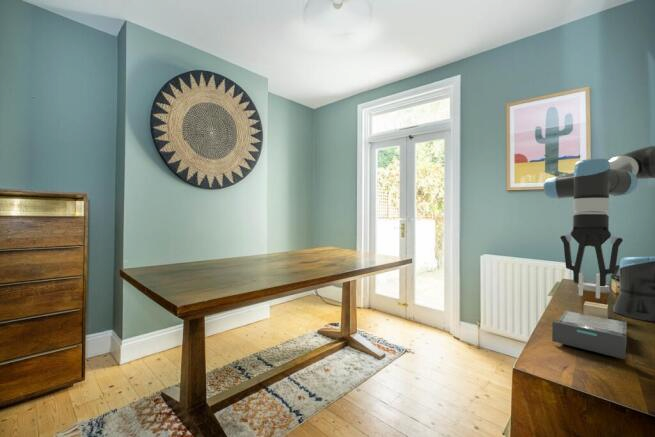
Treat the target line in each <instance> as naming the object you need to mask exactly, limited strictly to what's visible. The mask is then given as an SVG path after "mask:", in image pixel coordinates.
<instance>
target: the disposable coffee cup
mask: <svg viewBox="0 0 655 437" xmlns="http://www.w3.org/2000/svg"><path fill="white" fill-rule="evenodd" d="M577 288H578V289H579V284H578V285H577ZM611 291H612V289H611V288H610V286H609V285H607V284H606V285H605V287H604V286H600V299H599V298H596V282H591V281H583V295H582V296H580V295H579V297H580V304H581V310H582V311H581V312H582V314H584V303H585V301H586V302H592V303H598V304H605V305H608V301H609V296H610V295H609V294H610V293H611Z"/></svg>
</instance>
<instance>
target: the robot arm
mask: <svg viewBox="0 0 655 437" xmlns="http://www.w3.org/2000/svg"><path fill="white" fill-rule="evenodd" d="M644 179H645V180H647V179H648V180H649V179H655V145H651V146H646V147H642V148H638V149H635V150H632V151H629V152H626V153H623V154H620V155H618V156H614V157H612V158H610V160H609V159H607V158H604V157H603V158H602V157H601V158H599V157H598V158H587V159H582V160H579V161H577V162H576V163H574V169H573V172H572V173H569V174H564V175H559V176H558V175H556V176H553V177H549V178H547V179H545V181H544V183H543V192H544V195H545V196H546V197H547V198H548V199H559V200H560V199H567V198H573V204H572V206H573V211H572V212H573V213H575V214H574V215H573V217H572V220H573V221H572V230H571V231H570V233H568V234H565V235H561V236H560V240H561V241H562V243H563V251H564V261H565V268H566V269H567V270H570V271H573V282H574V283H575V284H578V285H579V288H578V296H579V297H580V296H582V295H583V282H584V271H581V269H582V267H581V266H582V264H583V263H582V262H583V259H584V254H585V248H586V247H593V248H594V250H595V254H596V259H597V266H598V272H599V273H596V274H595V283H596V298H599V299H600V286H604V287H605V285H607V275H610V274H612V275H613V274H615V273H616V267H617V260H618V254H619V248H620V245H621V244H622V242H623V240H624V239H623V238H622V237H617V236H615V235H612V234H611V231H610V228H609V224H610V223H609V222H610V219H609V218H610V215H608V214H607V213H609V211H610V210H609V208H610V207H609V206H610V198H609V197H610V196H614V197H617V196H625V195H628V194H631V193H633V192H634V191H635V189H636V188H637V187H638V184H639V180H644ZM572 239H574V240H575V242H576V243H578V248H577V253H576V256H575V257H576V258H575V261H574V265H573V260H572V252H571V243H570V242H571V241H572ZM608 240H610V244H612V247H611V252H610V258H609V259H610V260H609V265H608V266H609V267H608V268H607V269H606V264H605V259H604V254H603V253H604V252H603V248H602V247H603V246H602V245H603V244H605V243H606V242H607V241H608ZM619 262H620V263H619V294H618V296H617V298H616V300H615V303H614V304H613V309H612V310H613V313H615V312H616V313H615V314H617V313H618V314H617V315H620V314H621V315H620V316H623V315H624V316H623V317H626V318H631V319H636V320H640V321H641V320H642V321H646V320H647V321H648V322H654V321H655V256H626V257H624V256H623V257H622V258H621V259H620V261H619Z"/></svg>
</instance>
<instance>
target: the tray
mask: <svg viewBox="0 0 655 437" xmlns="http://www.w3.org/2000/svg"><path fill="white" fill-rule="evenodd" d="M551 332H552V336H551V337H552V338H551V339H552V340H551V341H552V342H554V343H558V344H562V345H567V346H571V347H574V348H578V349H582V350H587V351H590V352H594V353H597V354H602V355H606V356H609V357H613V358H618V359H621V360H626V359H627V358H626V357H627V356H626V355H627V354H626V353H627V335H626V336H622V335H617V334H612V333H607V332H602V331H598V330H593V329H588V328H583V327H579V326H574V325H569V324H564V323H560V322H559V321H554V320H552V331H551Z"/></svg>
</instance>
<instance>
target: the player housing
mask: <svg viewBox="0 0 655 437" xmlns="http://www.w3.org/2000/svg"><path fill="white" fill-rule="evenodd" d="M558 322H560V323H564V324H569V325H574V326H579V327H583V328H588V329H593V330H598V331H602V332H607V333H612V334H617V335H622V336H626V337H627V321H624V320H619V319H613V318H609V317H608V318H603V317H598V316H592V315H587V314H583V313H580V312H574V311H570V310H564V312H563V314H562V315H561V317H560V318H559V319H558Z"/></svg>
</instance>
